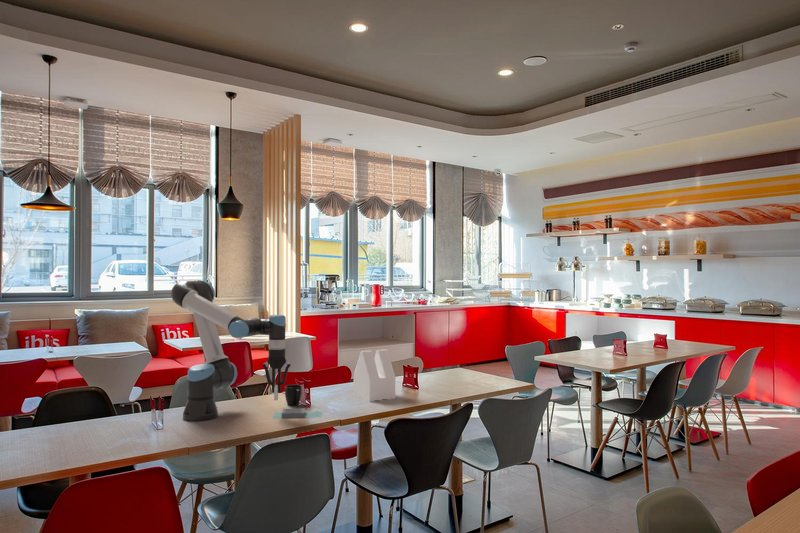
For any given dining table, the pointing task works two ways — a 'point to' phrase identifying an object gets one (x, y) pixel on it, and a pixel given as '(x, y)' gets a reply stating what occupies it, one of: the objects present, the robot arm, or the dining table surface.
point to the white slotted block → (374, 376)
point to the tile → (293, 412)
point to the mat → (307, 414)
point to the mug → (293, 394)
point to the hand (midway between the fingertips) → (276, 399)
